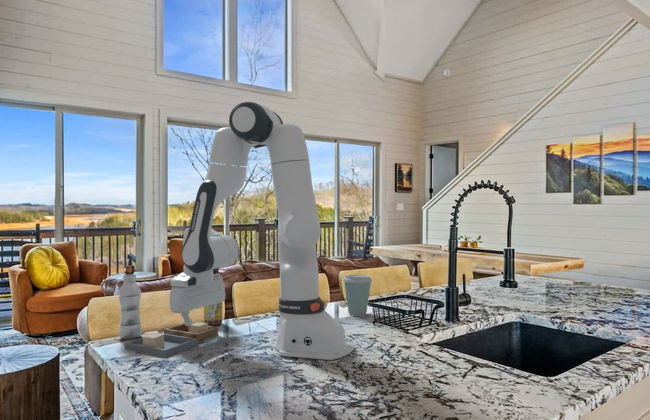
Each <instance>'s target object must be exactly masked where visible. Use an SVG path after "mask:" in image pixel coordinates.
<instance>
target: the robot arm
mask: <svg viewBox="0 0 650 420" xmlns="http://www.w3.org/2000/svg"><path fill="white" fill-rule="evenodd" d="M228 122H229V123H228V124H229V126H226V127H225V126H224V127H221V128H219V129H218V130H217V131H216V132H215V134H214V135H213V139H212V144H211V148H210V153H209V161H208V162H209V163H208V168H207V172H206V175H205V178H204V180H203V181H202V183H201V184H200V185H199V188H198V190H197V192H196V197H195V201H194V205H193V209H192V214H191V218H190V223H189V226H187V228H185V230H184V232H183V238H182V247H181V253H180V256H181V257H180V258H181V261H182V263H183V271H182V272H180V273H179V274H177V275H176V276H174V277H173V278H171V279H170V282H169V285H170V286H171V288H170V293H169V309H170V311H171V312H172V313H176V314H180V316H181V317H182V318H183V320H184V323H185V326H189V325H192V324H193V318H190V316H189V315H190V311H192V310H197V309H201V308H204V307H205V306H208V305H209V307H210V310H209V313H207V315H208V316H207V318H208V319H212V318H214V317H215V314H214V312H215V310H216V308H217V303H219V302H222V303H223V302H225V300H226V289H225V283H224V278H223V276H222V274H220V273H219V272H218V273H217V274H213V269H216V268H219V269H220V268H224V267H229V266H231V265H233V264H235V263H236V261H237V259H238V258H239V255H240V254H239V253H240V247H239V244H238V241H237V240H236V239H235V238H234V237H233V236H230V235H228V234H227V235H226V234H224V233H221V232H218V231H217V230H215V229H214V228H213V222H214V218H215V213H216V210H217V208H218V206H219V205H220V204H221V203H222V202H223V201H225V200H226V199H228V198H229V197H232V196H234V195H236V194H237V193H238V192H239V191H240V190H241V189H242V188H243V187H244V185H245V183H246V182H245V181H246V177H247V169H248V168H247V167H248V158H249V157H248V156H249V154H250V151H251V149H253V148H254V149H258V148H263V147H266V148H267V150H268V153H269V159H270V166H271V167H270V168H271V175H272V176H271V177H272V183H273V184H272V185H273V193H274V197H275V203H276V209H277V217H278V224H277V225H278V226H277V236H278V237H277V239H278V261H279V286H280V287H279V292H280V293H279V296H280V297H279V298H278V312H279V326H278V334H277V340H276V343H275V350H276V351H278V352H279V356H281V357H291V358H293V357H294V358H304V359H313V360H314V359H316V360H327V361H333V360H337V359H340V358H344V357H346V356H347V355H350V354H351V353H352V352H353V351H354V349H355V345H354V343H353V342H351V341H350V342H349V341H347V339H346V338H347V337H346V332H345V331H346V330H345V329H344V326H343V325H342V324H341V323H339V322H338V321H337V320H336V319H335V318H334V317H333V316H332V315H330V314H329V312H327V311H326V310H325V306H326V305H327V304H328V303H327V302H328V300H327V299H326V300H323V299H322V298H321V296H320V291H319V289H320V285H319V265H318V258H317V257H318V256H317V247H316V244H317V243H318V242H319V239H320V237H321V233H322V229H321V222H320V218H319V212H318V207H317V201H316V198H315V192H314V187H313V181H312V171H311V165H310V164H311V163H310V156H309V150H308V147H307V142H306V139H305V135H304V133H303V129H301V128H300V126H298V125H295V124H294V123H293V124H292V123H284V122H283V120H282V118H281V117H280V115H278V114H277V112H274V111H272V109H270V108H269V107H267V106H265V105H262V104H260V103H257V102H254V101H243V102H240V103H238V104H236V105H235V106H234V107H233V108H232V110H231V111H230V114H229V117H228Z"/></svg>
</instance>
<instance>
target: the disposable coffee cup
mask: <svg viewBox="0 0 650 420" xmlns="http://www.w3.org/2000/svg"><path fill="white" fill-rule="evenodd" d="M343 283H344V290H345V291H344V292H345V298H346V303H347V312H348V314H349V316H351V317H352V316H353V317H363V316H364V317H365V316H366V314H367V312H368V304H369V298H370V292H371V291H370V290H371V284H372V278H371V276H370V275H367V274H358V273H357V274H356V273H355V274H354V273H351V274H347V273H346V274H344V277H343Z"/></svg>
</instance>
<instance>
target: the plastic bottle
mask: <svg viewBox="0 0 650 420" xmlns="http://www.w3.org/2000/svg"><path fill="white" fill-rule="evenodd" d="M122 277H123V278H122V282H123V284H122V285H121V286H120V288H119V290H118V300H119V307H120V322H119V323H120V325H119V329H118V330H119V331H118V333H119V334H118V335H119V337H120V339H121V340H122V341H133V340H136V339H140V338H141V335H142V334H143V333H142V332H143V327H142V322H141V316H140V315H141V314H140V313H141V312H140V308H141V307H140V303H141V294H142V290H141V287H140V286H139V285H138V283H137V282H136V281H137V274H135V273H131V274H130V273H129V274H123V275H122Z"/></svg>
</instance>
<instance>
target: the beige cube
mask: <svg viewBox="0 0 650 420" xmlns="http://www.w3.org/2000/svg"><path fill="white" fill-rule="evenodd" d="M142 338H143V345H144V346H149V347H155V348H160V349H164V334H156V333H155V332H154V333H149V334H147V335H144V336H142Z"/></svg>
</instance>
